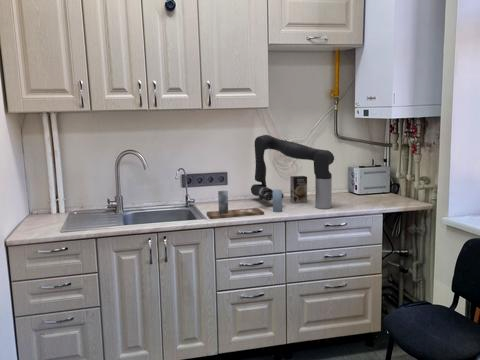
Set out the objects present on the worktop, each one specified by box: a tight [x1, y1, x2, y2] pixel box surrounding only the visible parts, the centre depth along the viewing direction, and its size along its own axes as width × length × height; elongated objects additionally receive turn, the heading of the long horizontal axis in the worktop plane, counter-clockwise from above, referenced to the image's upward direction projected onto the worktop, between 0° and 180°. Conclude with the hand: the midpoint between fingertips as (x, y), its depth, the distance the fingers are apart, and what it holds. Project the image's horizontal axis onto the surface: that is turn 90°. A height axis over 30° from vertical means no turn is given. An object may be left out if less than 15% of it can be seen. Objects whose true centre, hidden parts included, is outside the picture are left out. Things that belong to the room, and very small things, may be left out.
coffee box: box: [289, 175, 308, 204], centre depth 272 cm, size 9×6×16 cm
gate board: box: [206, 190, 265, 220], centre depth 242 cm, size 30×12×14 cm, turn 104°
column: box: [272, 189, 283, 213], centre depth 247 cm, size 5×5×12 cm
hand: (274, 198), depth 252 cm, fingers open, 8 cm apart
